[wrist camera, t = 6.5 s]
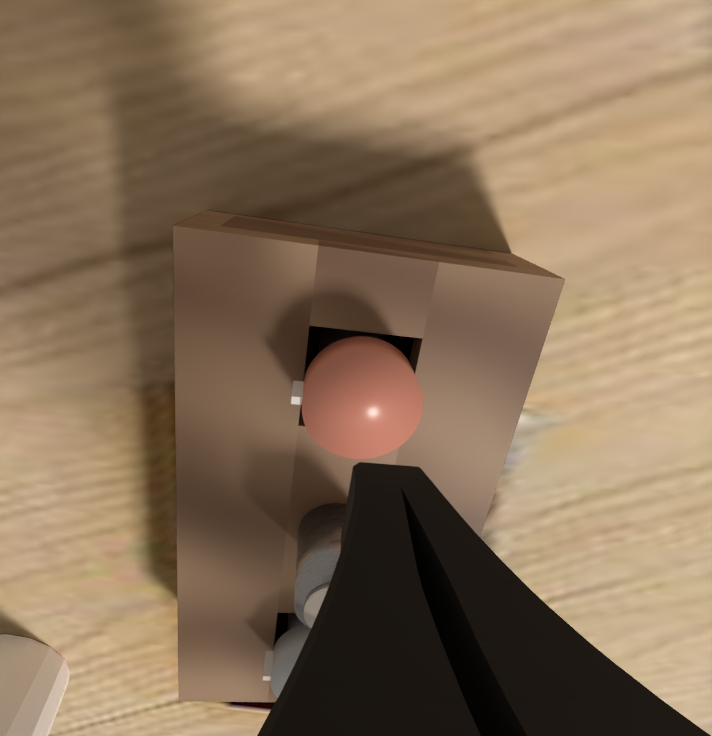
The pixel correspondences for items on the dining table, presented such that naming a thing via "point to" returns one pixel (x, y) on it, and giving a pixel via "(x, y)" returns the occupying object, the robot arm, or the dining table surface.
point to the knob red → (359, 395)
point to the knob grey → (285, 654)
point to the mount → (285, 421)
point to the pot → (316, 558)
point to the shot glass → (29, 686)
